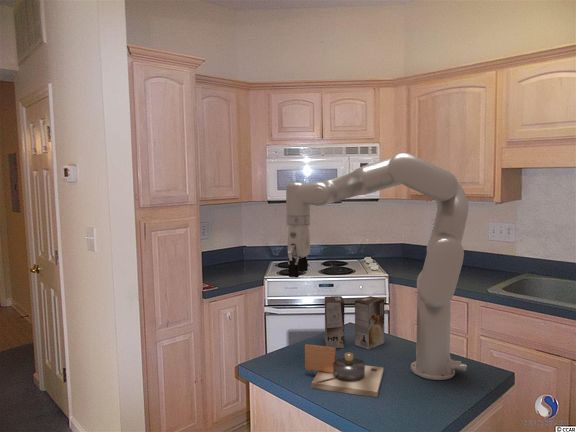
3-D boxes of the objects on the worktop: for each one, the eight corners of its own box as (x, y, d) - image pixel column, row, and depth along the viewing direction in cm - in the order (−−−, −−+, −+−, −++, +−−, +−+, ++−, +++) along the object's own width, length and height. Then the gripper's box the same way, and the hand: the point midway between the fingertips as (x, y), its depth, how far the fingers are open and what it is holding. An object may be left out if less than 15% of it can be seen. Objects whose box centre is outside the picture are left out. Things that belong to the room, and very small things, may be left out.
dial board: (383, 372, 131) (383, 367, 131) (377, 397, 116) (377, 391, 116) (324, 365, 137) (324, 360, 137) (311, 388, 122) (311, 382, 122)
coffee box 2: (370, 338, 160) (370, 295, 159) (384, 343, 155) (385, 298, 154) (354, 345, 154) (354, 300, 153) (369, 350, 149) (369, 303, 148)
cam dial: (366, 369, 129) (366, 345, 129) (362, 382, 121) (362, 357, 120) (309, 362, 135) (309, 339, 134) (301, 374, 126) (301, 350, 126)
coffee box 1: (344, 348, 151) (344, 302, 149) (326, 348, 151) (326, 302, 150) (342, 339, 160) (342, 295, 159) (324, 339, 160) (324, 295, 159)
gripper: (301, 223, 130) (301, 280, 132) (316, 219, 147) (316, 269, 148) (277, 223, 133) (278, 278, 134) (295, 218, 149) (295, 268, 150)
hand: (298, 273), depth 141 cm, fingers open, 9 cm apart
